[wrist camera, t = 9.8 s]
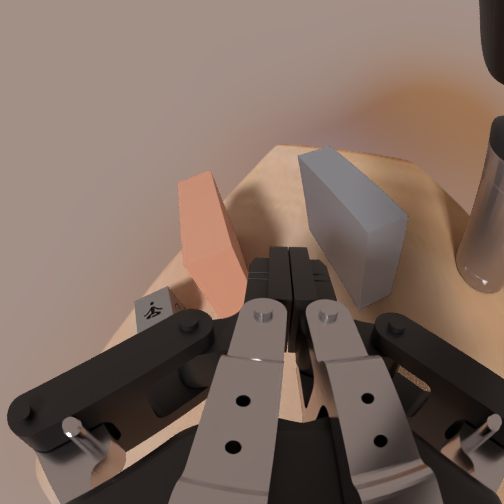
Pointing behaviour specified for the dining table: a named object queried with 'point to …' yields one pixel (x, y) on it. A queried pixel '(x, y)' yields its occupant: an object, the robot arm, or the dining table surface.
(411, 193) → the dining table surface
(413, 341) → the robot arm
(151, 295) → the dice cube
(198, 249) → the terracotta slab
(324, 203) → the slate slab
